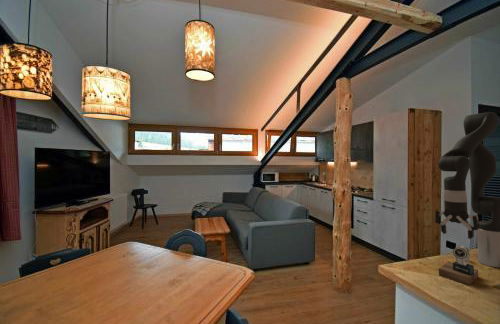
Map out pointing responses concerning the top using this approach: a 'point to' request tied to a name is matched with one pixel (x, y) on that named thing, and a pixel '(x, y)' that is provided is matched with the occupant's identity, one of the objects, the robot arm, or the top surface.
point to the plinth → (457, 274)
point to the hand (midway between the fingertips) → (456, 235)
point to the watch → (462, 260)
